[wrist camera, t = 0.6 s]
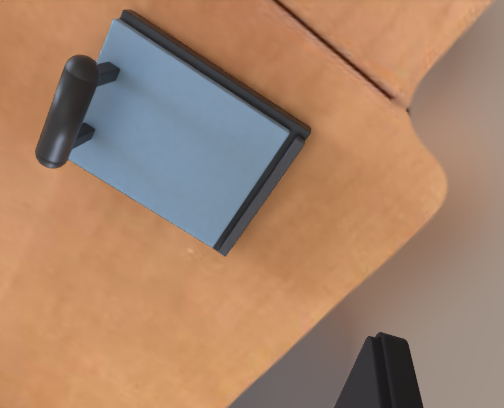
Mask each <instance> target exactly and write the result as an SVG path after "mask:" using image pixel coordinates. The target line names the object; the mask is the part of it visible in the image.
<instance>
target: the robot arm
mask: <svg viewBox="0 0 504 408" xmlns="http://www.w3.org/2000/svg"><path fill="white" fill-rule="evenodd" d="M334 408H423V404H422V400H421V395H420V391H419V387H418V383H417V379H416V374H415V370H414V366H413V362H412V358H411V353H410V349H409V345H408V343H407V341H406V340H405V339H403V338H399V337H396V336H392V335H389V334H385V333H382V332H379V333H378V334H377V335H376V337H371V336H368V337H367V338H366V340H365V342H364V344H363V347H362V349H361V351H360V353H359V355H358V357H357V359H356V362H355V364H354V366H353V368H352V370H351V372H350V375H349V377H348V379H347V381H346V383H345V385H344V387H343V390H342V392H341V394H340V396H339V398H338V400H337V402H336V405H335V407H334Z"/></svg>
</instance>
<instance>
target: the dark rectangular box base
mask: <svg viewBox="0 0 504 408" xmlns="http://www.w3.org/2000/svg"><path fill="white" fill-rule="evenodd" d="M120 20H122V21H123V22H125V23H126V24H128V25H129V26H131V27H132V28H134V29H136V30H137V31H139V32H140V33H142V34H143V35H145V36H146V37H148V38H149V39H151V40H152V41H154V42H155V43H157V44H158V45H160V46H162V47H163V48H165V49H166V50H168V51H169V52H171V53H172V54H174V55H175V56H177V57H178V58H180V59H181V60H183V61H184V62H186V63H188V64H189V65H191V66H192V67H194V68H195V69H197V70H198V71H200V72H201V73H203V74H204V75H206V76H207V77H209V78H210V79H212V80H213V81H215V82H217V83H218V84H220V85H221V86H223V87H224V88H226V89H227V90H229V91H230V92H232V93H233V94H235V95H236V96H238V97H239V98H241V99H243V100H244V101H246V102H247V103H249V104H250V105H252V106H253V107H255V108H256V109H258V110H259V111H261V112H262V113H264V114H265V115H267V116H269V117H270V118H272V119H273V120H275V121H276V122H278V123H279V124H281V125H282V126H284V127H285V128H287V129H288V130H290V134H289V136H288V137H287V139H286V140H285V141H284V143H283V144H282V146H281V147H280V149H279V150H278V152H277V153H276V155H275V156H274V158H273V159H272V161H271V162H270V164H269V165H268V167H267V168H266V170H265V171H264V173H263V174H262V176H261V177H260V178H259V180H258V181H257V183H256V184H255V186H254V187H253V189H252V190H251V192H250V193H249V195H248V196H247V198H246V199H245V201H244V202H243V204H242V205H241V207H240V208H239V210H238V211H237V212H236V214H235V215H234V217H233V218H232V220H231V221H230V223H229V224H228V226H227V227H226V229H225V230H224V232H223V233H222V235H221V236H220V238H219V239H218V241H217V242H216V244H215V245H214V246H213V247H212V248H213V249H215V250H216V251H218V253H220V254H222V255H223V256H226V255H227V254H228V253H229V251H230V250H231V248H232V247H233V245H234V244H235V243H236V241H237V240H238V238H239V237H240V236H241V234H242V233H243V231H244V230H245V228H246V227H247V226H248V224H249V223H250V221H251V220H252V219H253V217H254V216H255V214H256V213H257V211H258V210H259V209H260V207H261V206H262V204H263V203H264V202H265V200H266V199H267V197H268V196H269V194H270V193H271V192H272V190H273V189H274V187H275V186H276V185H277V183H278V182H279V180H280V179H281V177H282V176H283V175H284V173H285V172H286V170H287V169H288V168H289V166H290V165H291V163H292V162H293V160H294V159H295V158H296V156H297V155H298V153H299V152H300V151H301V149H302V148H303V146H304V145H305V141H306V139H307V138H308V136H309V135H310V133H311V128H310V127H309V126H307V125H306V124H304V123H303V122H301V121H300V120H298V119H297V118H295V117H294V116H292V115H290V114H289V113H287V112H286V111H284V110H283V109H281V108H280V107H278V106H277V105H275V104H274V103H272V102H271V101H269V100H268V99H266V98H265V97H263V96H262V95H260V94H259V93H257V92H256V91H254V90H252V89H251V88H249V87H248V86H246V85H245V84H243V83H242V82H240V81H239V80H237V79H236V78H234V77H233V76H231V75H230V74H228V73H227V72H225V71H224V70H222V69H221V68H219V67H218V66H216V65H215V64H213V63H211V62H210V61H208V60H207V59H205V58H204V57H202V56H201V55H199V54H198V53H196V52H195V51H193V50H192V49H190V48H189V47H187V46H186V45H184V44H183V43H181V42H180V41H178V40H177V39H175V38H173V37H172V36H170V35H169V34H167V33H166V32H164V31H163V30H161V29H160V28H158V27H157V26H155V25H154V24H152V23H151V22H149V21H148V20H146V19H145V18H143V17H142V16H140V15H139V14H137V13H136V12H134V11H132V10H123V11H122V14H121V17H120ZM68 160H69V159H68ZM71 162H72V161H71ZM76 165H77V164H76ZM81 168H82V167H81ZM84 170H85V169H84ZM89 173H90V172H89ZM94 176H95V175H94ZM97 178H98V177H97ZM99 179H100V178H99ZM102 181H103V180H102ZM107 184H108V183H107ZM112 187H113V186H112ZM115 189H116V188H115ZM120 192H121V191H120ZM125 195H126V194H125ZM128 197H129V196H128ZM133 200H134V199H133ZM138 203H139V202H138ZM141 205H142V204H141ZM143 206H144V205H143ZM146 208H147V207H146ZM151 211H152V210H151ZM156 214H157V213H156ZM159 216H160V215H159ZM164 219H165V218H164ZM169 222H170V221H169ZM172 224H173V223H172ZM177 227H178V226H177ZM182 230H183V229H182ZM185 232H186V231H185ZM190 235H191V234H190ZM195 238H196V237H195ZM198 240H199V239H198ZM200 241H201V240H200ZM203 243H204V242H203ZM208 246H209V245H208Z"/></svg>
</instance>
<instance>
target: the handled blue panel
mask: <svg viewBox="0 0 504 408" xmlns="http://www.w3.org/2000/svg"><path fill="white" fill-rule="evenodd" d="M289 134H290V130H288V129H287V128H285V127H284V126H282V125H281V124H279V123H278V122H276V121H275V120H273V119H272V118H270V117H269V116H267V115H265V114H264V113H262V112H261V111H259V110H258V109H256V108H255V107H253V106H252V105H250V104H249V103H247V102H246V101H244V100H243V99H241V98H239V97H238V96H236V95H235V94H233V93H232V92H230V91H229V90H227V89H226V88H224V87H223V86H221V85H220V84H218V83H217V82H215V81H213V80H212V79H210V78H209V77H207V76H206V75H204V74H203V73H201V72H200V71H198V70H197V69H195V68H194V67H192V66H191V65H189V64H188V63H186V62H184V61H183V60H181V59H180V58H178V57H177V56H175V55H174V54H172V53H171V52H169V51H168V50H166V49H165V48H163V47H162V46H160V45H158V44H157V43H155V42H154V41H152V40H151V39H149V38H148V37H146V36H145V35H143V34H142V33H140V32H139V31H137V30H136V29H134V28H132V27H131V26H129V25H128V24H126V23H125V22H123V21H122V20H120V19H113V21H112V24H111V26H110V29H109V32H108V34H107V37H106V39H105V42H104V45H103V47H102V50H101V52H100V55H99V58H98V60H97V63H96V62H95V61H94V60H93V59H92V58H90V57H88V56H85V55H75V56H73V57H71V58H70V59H68V61H67V62H66V64H65V66H64V69H63V72H62V75H61V78H60V81H59V83H58V86H57V89H56V92H55V95H54V98H53V101H52V103H51V106H50V109H49V112H48V115H47V118H46V121H45V124H44V126H43V129H42V132H41V135H40V138H39V141H38V144H37V146H36V150H35V154H36V158H37V160H38V161H39V163H40V164H42V165H43V166H45V167H47V168H59V167H61V166H63V165H64V164H65V163H66V162H67V160H68V159H69V160H70V161H72V162H73V163H75V164H77V165H78V166H80V167H82V168H83V169H85V170H86V171H88V172H90V173H91V174H93V175H95V176H96V177H98V178H100V179H101V180H103V181H104V182H106V183H108V184H109V185H111V186H113V187H114V188H116V189H117V190H119V191H121V192H122V193H124V194H126V195H127V196H129V197H130V198H132V199H134V200H135V201H137V202H139V203H140V204H142V205H144V206H145V207H147V208H148V209H150V210H152V211H153V212H155V213H157V214H158V215H160V216H161V217H163V218H165V219H166V220H168V221H170V222H171V223H173V224H174V225H176V226H178V227H179V228H181V229H183V230H184V231H186V232H187V233H189V234H191V235H192V236H194V237H196V238H197V239H199V240H201V241H202V242H204V243H205V244H207V245H209V246H210V247H213V246H214V245H215V244H216V242H217V241H218V239H219V238H220V236H221V235H222V233H223V232H224V230H225V229H226V227H227V226H228V224H229V223H230V221H231V220H232V218H233V217H234V215H235V214H236V212H237V211H238V210H239V208H240V207H241V205H242V204H243V202H244V201H245V199H246V198H247V196H248V195H249V193H250V192H251V190H252V189H253V187H254V186H255V184H256V183H257V181H258V180H259V178H260V177H261V176H262V174H263V173H264V171H265V170H266V168H267V167H268V165H269V164H270V162H271V161H272V159H273V158H274V156H275V155H276V153H277V152H278V150H279V149H280V147H281V146H282V144H283V143H284V141H285V140H286V139H287V137H288V136H289Z"/></svg>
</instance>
